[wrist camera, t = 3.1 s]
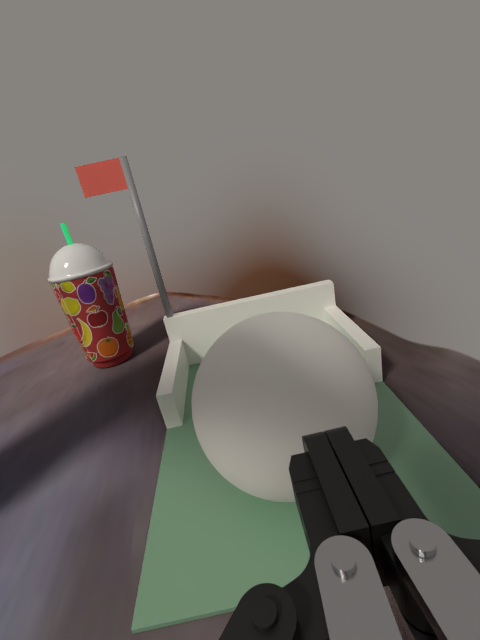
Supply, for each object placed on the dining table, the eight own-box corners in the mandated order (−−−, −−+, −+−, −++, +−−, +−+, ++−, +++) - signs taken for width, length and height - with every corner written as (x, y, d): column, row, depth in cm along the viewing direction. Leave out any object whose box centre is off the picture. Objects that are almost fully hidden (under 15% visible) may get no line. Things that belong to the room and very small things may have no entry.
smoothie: (109, 346, 56) (62, 223, 49) (152, 344, 53) (108, 212, 46) (72, 374, 49) (11, 234, 42) (120, 373, 46) (63, 223, 39)
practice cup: (52, 652, 18) (-339, 98, 9) (147, 371, 45) (77, 167, 36) (527, 545, 18) (629, -109, 9) (334, 330, 45) (311, 117, 36)
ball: (215, 571, 20) (155, 396, 15) (213, 432, 31) (178, 308, 26) (420, 525, 20) (419, 338, 15) (344, 403, 31) (330, 275, 26)
